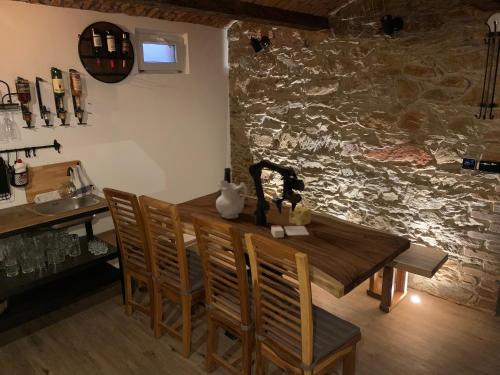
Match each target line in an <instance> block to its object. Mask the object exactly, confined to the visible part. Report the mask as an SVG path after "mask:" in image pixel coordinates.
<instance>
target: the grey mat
mask: <svg viewBox="0 0 500 375" xmlns="http://www.w3.org/2000/svg"><path fill="white" fill-rule="evenodd" d="M283 230H284V231H285V234H287V237H289V236H293V237H294V236H296V237H297V236H310V233H309V232H308V230H307V228H306V227H305V225H303V226H298V225H295V226H294V225H293V226H290V225H289V226H283Z"/></svg>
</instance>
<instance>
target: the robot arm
mask: <svg viewBox="0 0 500 375" xmlns="http://www.w3.org/2000/svg"><path fill="white" fill-rule="evenodd" d="M264 168H267V169H269V170H271V171H273V172H276V173H278V174H279V176H281V178H279V180H280V181H283V182H282V188H281V192H282V195H281V196H280V197H279V196H276V197H272V198H271V203H272V204H275V206H276V208H277V212H279V215H281V214H282V206H283V202H286V201H287V202H289V203H290V204H291V208H292V212H294V209H295V207H297V205H298V204H299V203H300V202H302V201H303V197H302V195H301V194H300V193H295V191H299V192H304V190H305V187H306V183H305V182H304V179H301V178H300V179H299V177H298V175H297V173H296V171H295V168H294V167H291V166H288V165H286V166H285V165H280V164H278V163H276V162H273V161H270V160H268V159H266V158H265V159H261V160H260V161H257V162H256V163H253V164H250V165H249V166H248V173H249V175H250V176H251V178H252V180H253V185H254V190H255V193H256V198H257V201H256V209H255V210H254V211H253V212H252V214H253V216H255V221H254V222H255V225H256V226H266V225H267V216H266V215H267V214H269V211H270V209H271V205H270V200H267V198H266V196H265V190H264V186H263V182H262V174H263V169H264Z"/></svg>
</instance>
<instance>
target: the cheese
mask: <svg viewBox="0 0 500 375" xmlns="http://www.w3.org/2000/svg"><path fill="white" fill-rule="evenodd" d="M288 215H289V216H288V217H289V219H288V221H289V223H290V224H293V225H295V226H305V225H308V224H310V223H311V219H312V209H311V208H308V207H304V206H301V205H298V206H297V205H296V207H295V209H294V212H292V207H291V208H289V214H288Z"/></svg>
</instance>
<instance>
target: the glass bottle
mask: <svg viewBox="0 0 500 375" xmlns="http://www.w3.org/2000/svg"><path fill="white" fill-rule="evenodd" d="M223 171H224V173H223V174H224V176H223V180H224V181H227V182H228V183H232V180H231V179H232V178H231V172H232V170H231V168H230V167H225V168H224V170H223ZM221 195H222V191H221V188H219V189H218V190H217V191H216V193H215V201H216V200H217V199H218V198H219V197H220V196H221ZM238 195H239V196H240V194H239V192H238Z"/></svg>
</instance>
